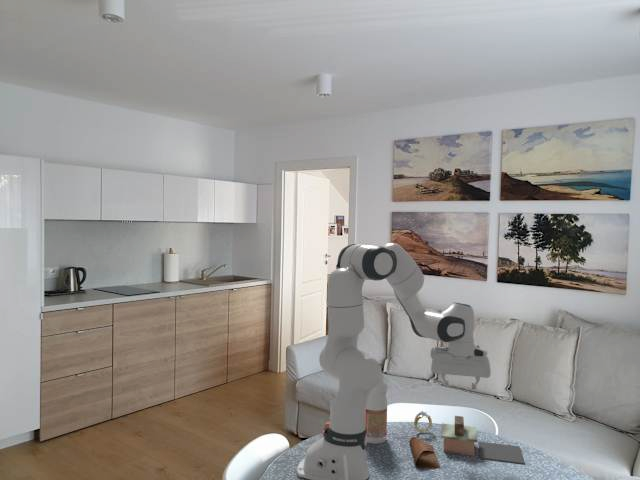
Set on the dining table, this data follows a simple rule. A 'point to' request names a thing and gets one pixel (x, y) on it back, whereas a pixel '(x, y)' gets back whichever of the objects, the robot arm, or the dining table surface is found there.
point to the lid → (459, 431)
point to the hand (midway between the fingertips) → (460, 387)
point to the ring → (420, 418)
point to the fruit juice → (377, 413)
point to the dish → (459, 446)
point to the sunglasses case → (423, 454)
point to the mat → (500, 452)
